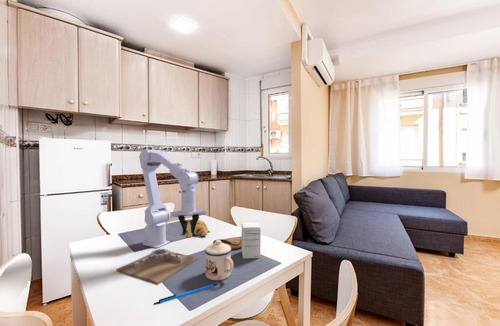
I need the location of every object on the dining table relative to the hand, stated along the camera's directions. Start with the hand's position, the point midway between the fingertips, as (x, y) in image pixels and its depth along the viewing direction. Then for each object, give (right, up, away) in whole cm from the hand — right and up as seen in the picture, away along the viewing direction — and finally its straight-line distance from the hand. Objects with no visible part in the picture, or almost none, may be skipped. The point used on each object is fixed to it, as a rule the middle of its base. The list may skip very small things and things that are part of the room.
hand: (188, 233), depth 96 cm
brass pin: (0, -2, 0) cm, 2 cm away
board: (-8, -9, -10) cm, 16 cm away
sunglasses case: (+19, -9, +8) cm, 22 cm away
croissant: (-3, -9, +28) cm, 30 cm away
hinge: (-8, -8, -10) cm, 15 cm away
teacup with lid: (+16, -9, -18) cm, 26 cm away
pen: (+8, -10, -29) cm, 31 cm away
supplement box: (+26, -9, -1) cm, 28 cm away
